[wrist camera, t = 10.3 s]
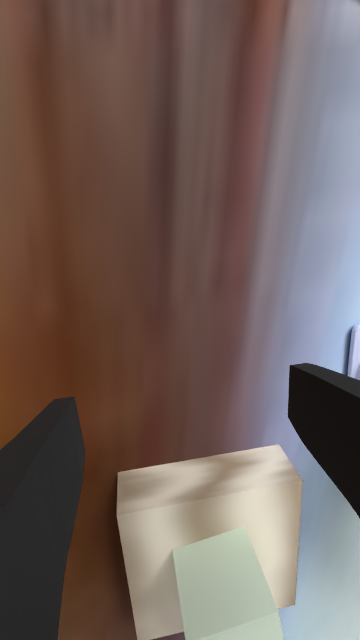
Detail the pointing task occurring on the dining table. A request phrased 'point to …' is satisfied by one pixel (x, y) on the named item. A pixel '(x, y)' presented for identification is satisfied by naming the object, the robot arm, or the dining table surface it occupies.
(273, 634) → the green block
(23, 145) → the dining table surface
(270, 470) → the beige panel
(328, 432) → the robot arm
